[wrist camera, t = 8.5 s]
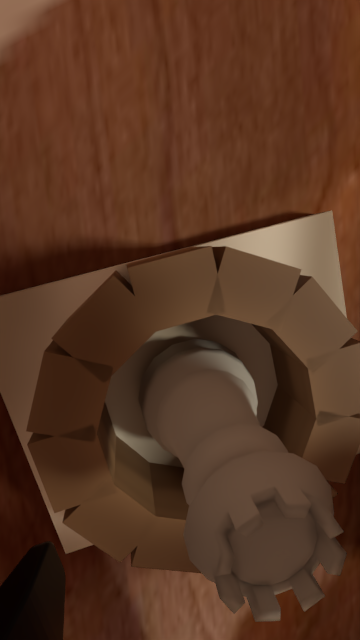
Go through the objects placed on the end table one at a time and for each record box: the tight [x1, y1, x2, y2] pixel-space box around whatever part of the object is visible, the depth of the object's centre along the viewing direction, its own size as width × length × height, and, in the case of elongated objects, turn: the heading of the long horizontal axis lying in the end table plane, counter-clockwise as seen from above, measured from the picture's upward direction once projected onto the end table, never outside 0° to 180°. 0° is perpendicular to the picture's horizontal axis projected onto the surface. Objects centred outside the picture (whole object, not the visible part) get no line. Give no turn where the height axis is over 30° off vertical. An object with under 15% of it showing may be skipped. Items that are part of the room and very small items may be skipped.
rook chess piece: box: [138, 339, 347, 622], centre depth 10 cm, size 4×4×8 cm
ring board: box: [0, 211, 360, 573], centre depth 13 cm, size 14×11×4 cm
